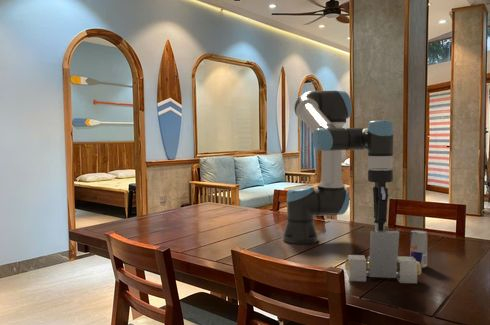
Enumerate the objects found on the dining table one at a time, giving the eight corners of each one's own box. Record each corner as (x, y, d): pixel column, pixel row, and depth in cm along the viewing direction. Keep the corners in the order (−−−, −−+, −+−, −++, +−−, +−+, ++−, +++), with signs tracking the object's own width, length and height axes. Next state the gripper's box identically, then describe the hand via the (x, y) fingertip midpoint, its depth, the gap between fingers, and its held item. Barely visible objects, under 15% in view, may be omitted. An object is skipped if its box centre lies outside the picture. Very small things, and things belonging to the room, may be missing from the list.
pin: (346, 273, 127) (346, 261, 127) (345, 269, 131) (345, 258, 130) (421, 276, 123) (421, 263, 123) (418, 272, 127) (418, 260, 127)
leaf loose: (371, 232, 121) (369, 225, 126) (369, 277, 126) (367, 268, 130) (399, 232, 120) (396, 225, 124) (396, 278, 125) (392, 269, 129)
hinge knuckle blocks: (349, 280, 126) (349, 259, 126) (346, 268, 138) (346, 249, 138) (417, 283, 123) (417, 261, 123) (407, 270, 135) (407, 250, 135)
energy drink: (407, 263, 142) (407, 230, 142) (421, 263, 143) (422, 229, 142) (414, 268, 137) (415, 233, 136) (430, 268, 137) (430, 233, 137)
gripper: (397, 170, 121) (396, 248, 123) (388, 167, 134) (388, 237, 136) (371, 170, 122) (371, 247, 124) (365, 167, 135) (364, 237, 137)
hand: (379, 242), depth 130 cm, fingers closed
